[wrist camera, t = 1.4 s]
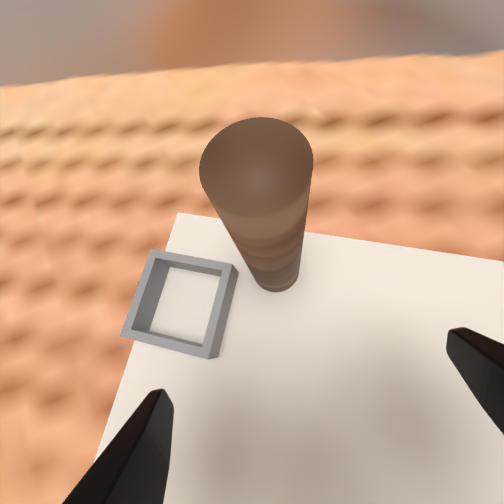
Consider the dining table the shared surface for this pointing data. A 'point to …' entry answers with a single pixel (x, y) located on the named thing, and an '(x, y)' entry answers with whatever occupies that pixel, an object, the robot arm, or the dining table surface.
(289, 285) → the stool leg
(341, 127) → the dining table surface
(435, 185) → the dining table surface
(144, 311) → the stool seat
